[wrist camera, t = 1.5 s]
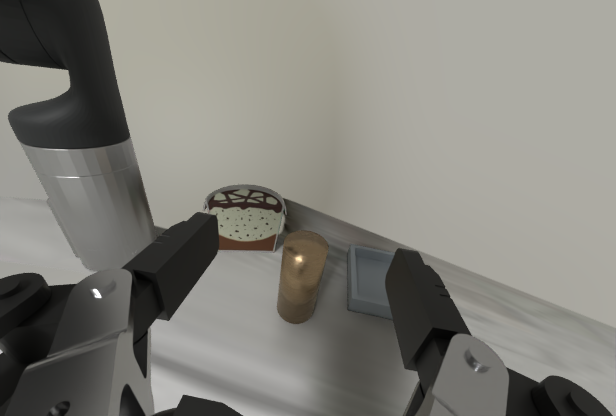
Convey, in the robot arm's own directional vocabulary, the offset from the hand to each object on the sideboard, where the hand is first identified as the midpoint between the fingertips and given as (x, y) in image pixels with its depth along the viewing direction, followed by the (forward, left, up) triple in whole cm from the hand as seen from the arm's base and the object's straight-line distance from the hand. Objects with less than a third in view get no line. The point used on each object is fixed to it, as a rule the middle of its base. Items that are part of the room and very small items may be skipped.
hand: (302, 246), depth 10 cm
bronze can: (0, +12, -20) cm, 23 cm away
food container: (-11, +23, -21) cm, 33 cm away
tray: (+13, +19, -20) cm, 30 cm away
